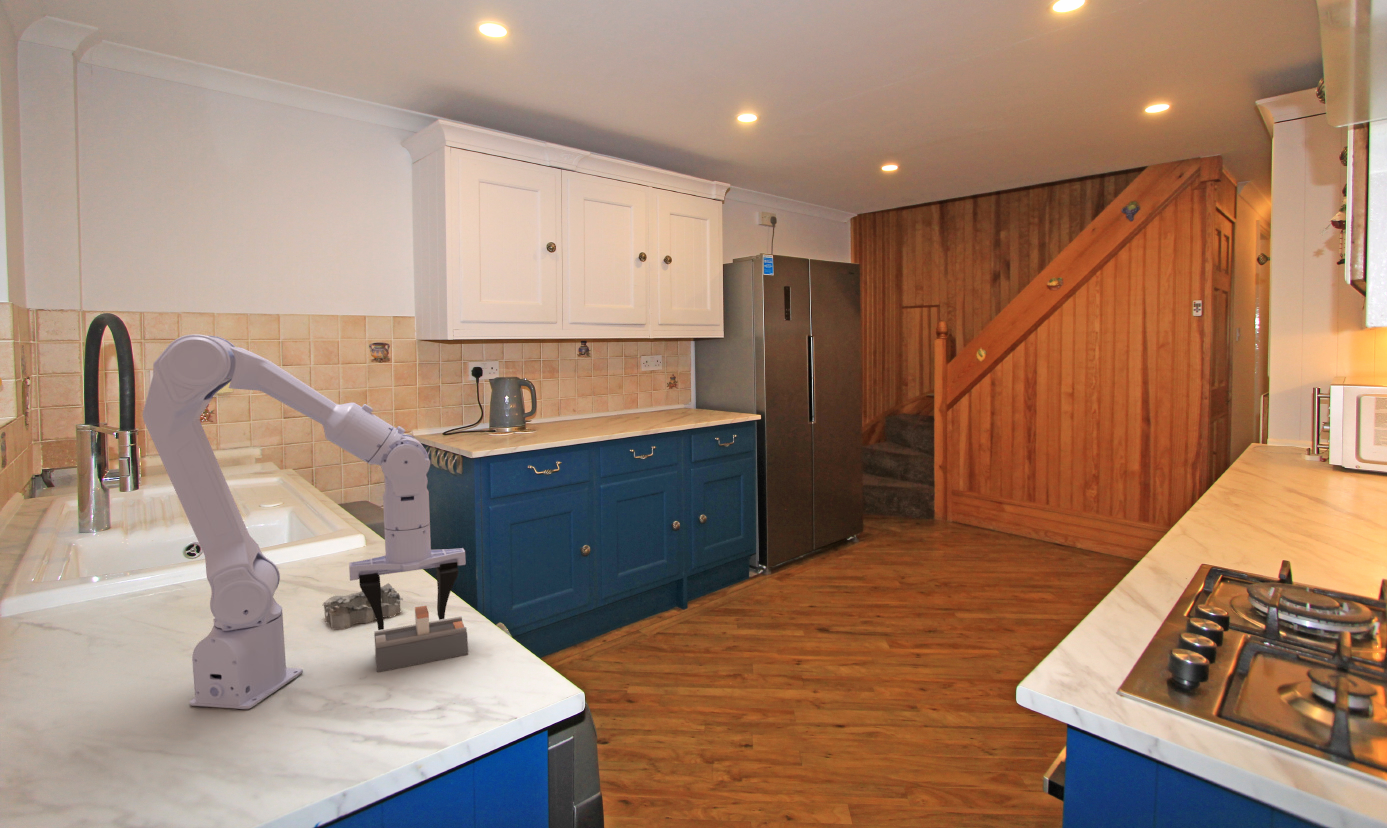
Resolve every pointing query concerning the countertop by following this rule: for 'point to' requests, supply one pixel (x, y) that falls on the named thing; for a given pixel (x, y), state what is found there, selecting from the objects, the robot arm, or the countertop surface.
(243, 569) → the robot arm
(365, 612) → the egg carton
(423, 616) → the breaker handle
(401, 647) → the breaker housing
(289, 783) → the countertop surface
